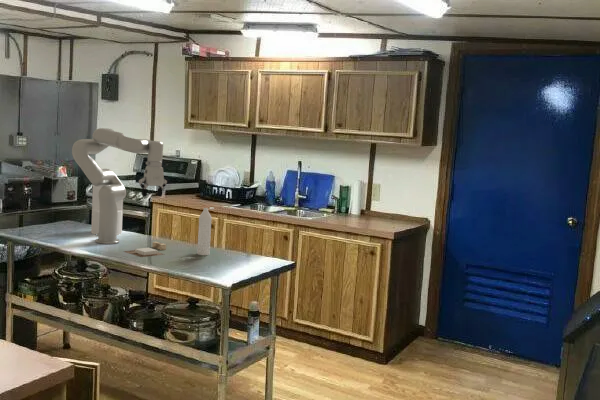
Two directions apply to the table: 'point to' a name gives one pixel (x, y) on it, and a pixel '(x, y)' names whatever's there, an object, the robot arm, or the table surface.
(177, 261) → the table surface
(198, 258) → the table surface
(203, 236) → the water bottle
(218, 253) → the table surface
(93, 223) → the cylinder
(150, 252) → the tile
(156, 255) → the board
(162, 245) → the turner
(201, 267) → the table surface
